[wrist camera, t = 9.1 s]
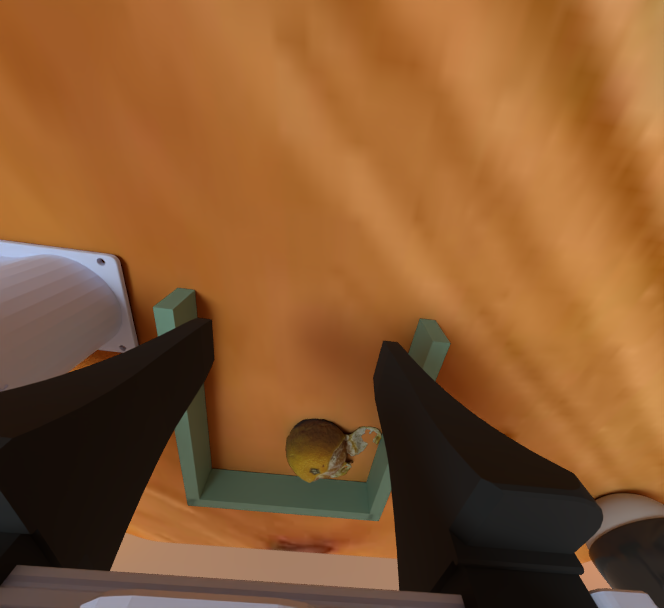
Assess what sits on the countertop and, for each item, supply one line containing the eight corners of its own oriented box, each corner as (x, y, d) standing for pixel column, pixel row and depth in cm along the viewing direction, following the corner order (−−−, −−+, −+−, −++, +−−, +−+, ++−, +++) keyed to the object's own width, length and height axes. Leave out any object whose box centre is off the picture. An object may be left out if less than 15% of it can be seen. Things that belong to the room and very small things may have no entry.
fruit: (342, 474, 30) (343, 513, 26) (272, 449, 28) (264, 487, 25) (386, 429, 26) (393, 466, 23) (310, 397, 25) (307, 433, 21)
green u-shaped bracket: (201, 474, 29) (187, 505, 27) (177, 287, 19) (152, 307, 17) (374, 489, 30) (378, 521, 28) (435, 320, 21) (450, 343, 18)
